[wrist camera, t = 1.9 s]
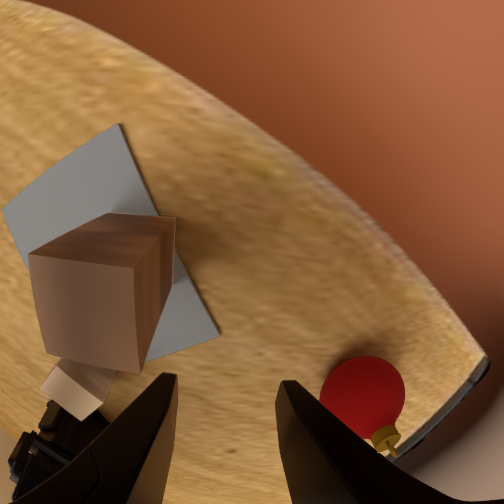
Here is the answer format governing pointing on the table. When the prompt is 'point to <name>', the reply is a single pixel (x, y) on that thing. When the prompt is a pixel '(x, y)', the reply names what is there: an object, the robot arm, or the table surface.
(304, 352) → the table surface
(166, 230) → the walnut block
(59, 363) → the maple block
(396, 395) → the christmas ornament
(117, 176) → the mat
